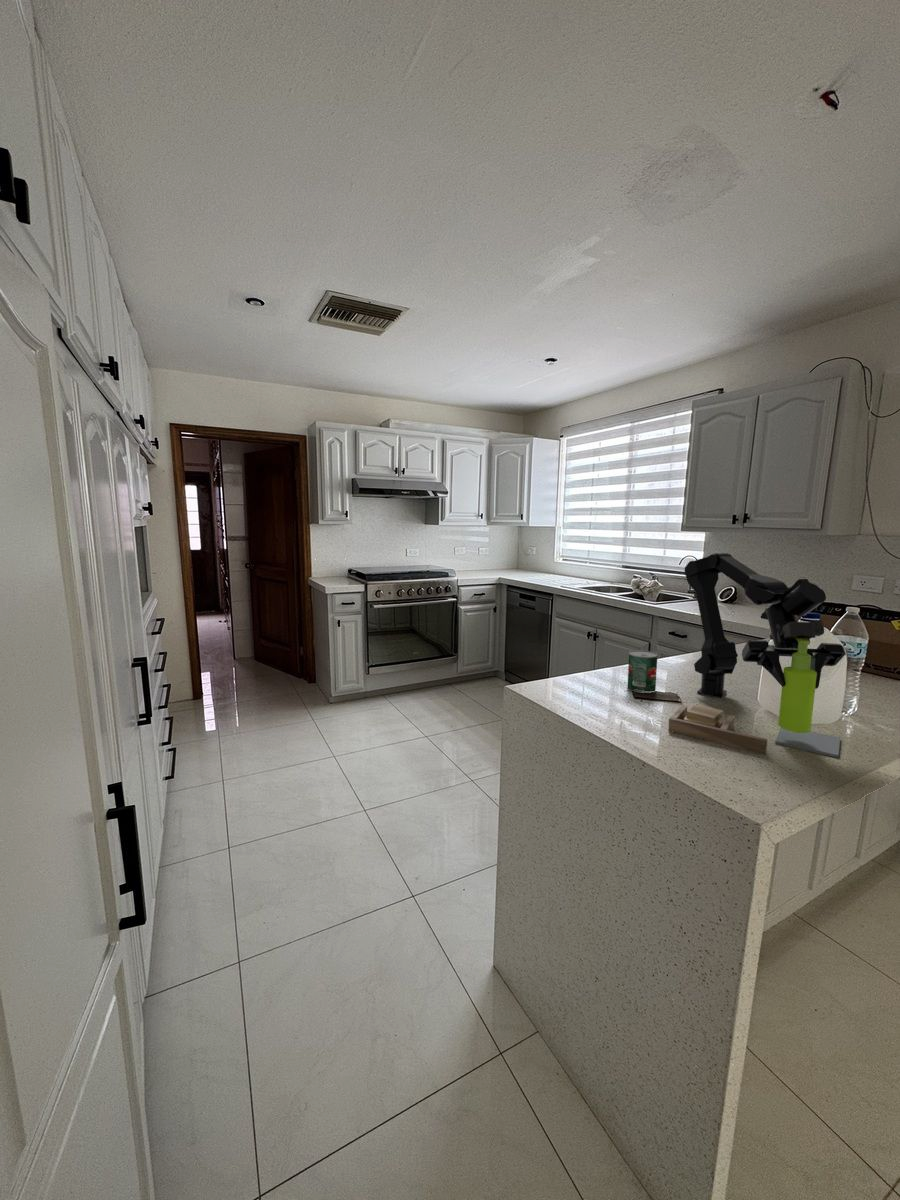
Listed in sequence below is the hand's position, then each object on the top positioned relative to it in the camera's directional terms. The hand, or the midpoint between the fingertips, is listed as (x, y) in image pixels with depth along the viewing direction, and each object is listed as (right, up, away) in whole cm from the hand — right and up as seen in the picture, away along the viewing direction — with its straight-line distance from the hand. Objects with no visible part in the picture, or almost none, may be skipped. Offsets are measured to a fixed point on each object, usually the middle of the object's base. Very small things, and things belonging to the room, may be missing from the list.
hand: (800, 686), depth 106 cm
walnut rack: (-13, -12, +8) cm, 19 cm away
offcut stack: (-16, -12, +11) cm, 22 cm away
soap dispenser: (+1, -9, +3) cm, 10 cm away
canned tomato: (-19, -8, +39) cm, 44 cm away
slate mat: (+4, -13, +3) cm, 14 cm away
